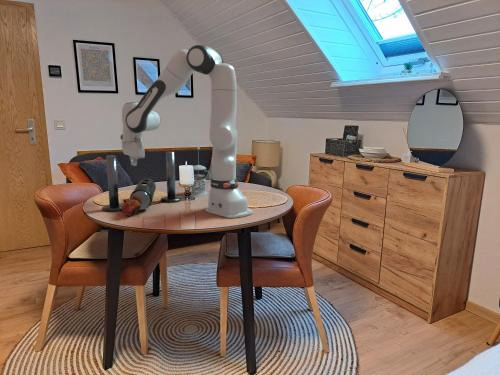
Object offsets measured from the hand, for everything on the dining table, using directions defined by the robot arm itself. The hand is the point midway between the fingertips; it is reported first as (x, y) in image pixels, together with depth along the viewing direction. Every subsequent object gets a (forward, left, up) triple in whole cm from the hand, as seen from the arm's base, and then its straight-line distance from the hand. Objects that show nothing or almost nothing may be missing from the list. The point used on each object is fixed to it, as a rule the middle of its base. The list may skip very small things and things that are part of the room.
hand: (134, 165), depth 175 cm
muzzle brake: (-11, 0, -18) cm, 21 cm away
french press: (-5, -34, -17) cm, 38 cm away
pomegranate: (-25, +11, -17) cm, 32 cm away
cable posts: (-11, 0, -17) cm, 20 cm away
